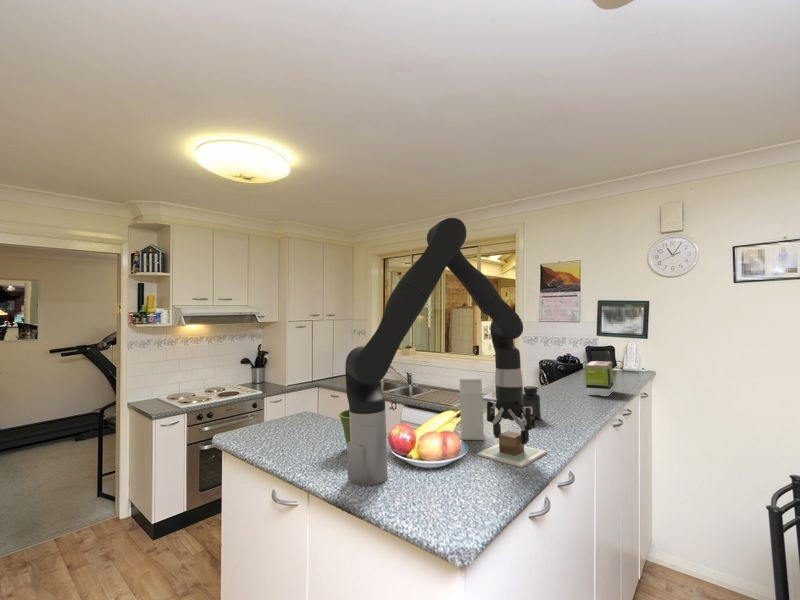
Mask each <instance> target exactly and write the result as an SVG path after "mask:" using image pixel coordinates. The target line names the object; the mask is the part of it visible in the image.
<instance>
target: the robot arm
mask: <svg viewBox="0 0 800 600" xmlns="http://www.w3.org/2000/svg"><path fill="white" fill-rule="evenodd" d="M466 239H467V228H466V224H465V223H464V222H463V220H461V218H458V217H454V216H451V217H449V216H448V217H446V218H443V219H441V220H440V221H438V222H437V223H435V224H434V225H433V226H432V227H431V228H429V230H428V231H427V233H426V243H427V247H426V248H425V249H424V251H423V253H422V254H421V256H420V257H419V258H418V259H417V260H416V261H415V262H414V263H413V264H412V265H411V266H410V267H409V268H408V270H407V271H406V272H405V273H404V274H403V276H402V277H401V278H400V279H399V281H398V283H397V284H396V285H395V287H394V289H393V290H392V292H391V293H390V295H389V298H388V299H387V302H386V304H385V306H384V309H383V313H382V315H381V316H382V317H381V320H380V323H379V325H378V327H377V328H376V331H375V332H374V334H373V335H372V337H370V338H369V340H368V341H367V343H366V344H365V345H364V346H363V345H361V346H356V347H354V348H353V349H352V350H350V351H349V353H348V355H347V357H346V359H345V365H344V367H345V368H344V369H345V386H346V388H345V390H346V397H347V402H348V410H349V415H350V441H349V442H347V444H346V453H347V454H346V457H347V480H348V481H349V482H350V483H353V484H356V485H358V486H361V487H367V486H375V485H378V484H381V483H384V482H386V480H388V447H387V419H386V418H387V417H386V415H387V414H386V399H385V396H384V394H383V391H382V388H381V381H382V380H383V379H384V377H385V376H386V374H387V373H388V371H389V369H390V366H391V365H392V362H393V361H394V358H395V356H396V354H397V352H398V350H399V348H400V346H401V344H402V342H403V340H405V339H404V338H405V337H406V336H407V334H408V333H409V331H410V330H411V328H412V327H413V324H414V323H415V321H416V319H417V318H418V317H419V315H420V314H421V312H422V311H423V309H424V307H425V306H426V303H427V302H428V300H429V298H430V297H431V295H432V293H433V292H434V290H435V288H436V286H437V285H438V283H439V281H440V279H441V277H442V276H443V273H444V271H445V270H446V269H449V270H450V272H451V273H452V274H453V275H454V276H455V277H456V279H457V281H459V283H461V285H462V286H463V287H464V289H465V290H466V291H467V293H468V294H469V296H470V297H471V298H472V300H473V302H474V303H475V305H476V306H477V307H478V309H479V310H480V311H481V312H482V314H484V315H487V316H488V317H489V318H490V319H491V323H490V327H489V329H490V332H489V333H490V338H491V342H492V347H493V349H494V350H493V351H494V353H495V358H494V359H495V361H494V362H495V372H494V374H495V375H494V379H495V399H496V401H495V400H494V399H493V400H490V401H487V403H486V421H487V422H488V423H489V422H490V423H491V424H492V428H493V433H492V434H493V435H494V438H495V439H499V434H501V433H502V429H501V428H502V427H501V426H502V425H501V422H502V421H503V420H509V421H512V422H513V421H514V422H515V424H516V425H518V427H519V429H520V433H521V444H524V445H526V444H527V443H529V440H530V437H529V436H530V435H529V434H530V433H529V431H531V430H534V429H536V421H535V417H534V408H533V407H532V406H531V407H524V406H523V404H522V401H523V394H524V389H523V375H522V369H521V367H522V366H521V353H520V350H519V349H518V348H517V347H516V346H515V343H514V340H516V339H518V338H519V337H521V335H522V334H523V333H524V324H523V321H522V319H521V317H520V316H519V315H518V313H517V312H516V311H515V310H514V309H513V308H512V307H511V306H510V305H509V304H508V303H507V302H506V301H505V300H504V299H503V297H502V296H501V295H500V293H499V291H498V290H497V289H496V288H495V287H496V286H495V285H494V284H493V283H492V282H491V280H490V279H489V278H488V277H487V276H486V275H485V274H484V273H483V272H481V270H479V269H478V268H477V267H475V266H474V265H473V264H472V263H471V262H470V261H469V260H468V259H467V258H466V256H465V255H464V254H463V252H462V250H461V248H462V247H463V245H464V244H465V242H466ZM496 409H497V411H498V412H497V413H496ZM523 411H524V414H525V415H526V419H525V417H524V416H523V414H522V412H523ZM495 413H496V414H495Z"/></svg>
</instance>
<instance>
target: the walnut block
mask: <svg viewBox="0 0 800 600" xmlns="http://www.w3.org/2000/svg"><path fill="white" fill-rule="evenodd" d="M498 444H499V452H501V453H505V454H509V455H513V456H516V455H518V454H520V453H522V452H524V446H525V444H521V432H517V431H511V430H506V431H504V432H501V434H499V438H498Z"/></svg>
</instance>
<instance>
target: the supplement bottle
mask: <svg viewBox="0 0 800 600" xmlns="http://www.w3.org/2000/svg"><path fill="white" fill-rule="evenodd" d="M541 403H542V401H541V396H540V395H539V394H538V387H537V386H532V385H526V386H523V401H522V404H523V406H524V407H531V406H532V407H533V408H534V417H535V422H537V421H536V420H539V421H541V419H542V404H541ZM522 414H523V416H524V417H525V419H526V415H525V414H524V411H523V412H522Z"/></svg>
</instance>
